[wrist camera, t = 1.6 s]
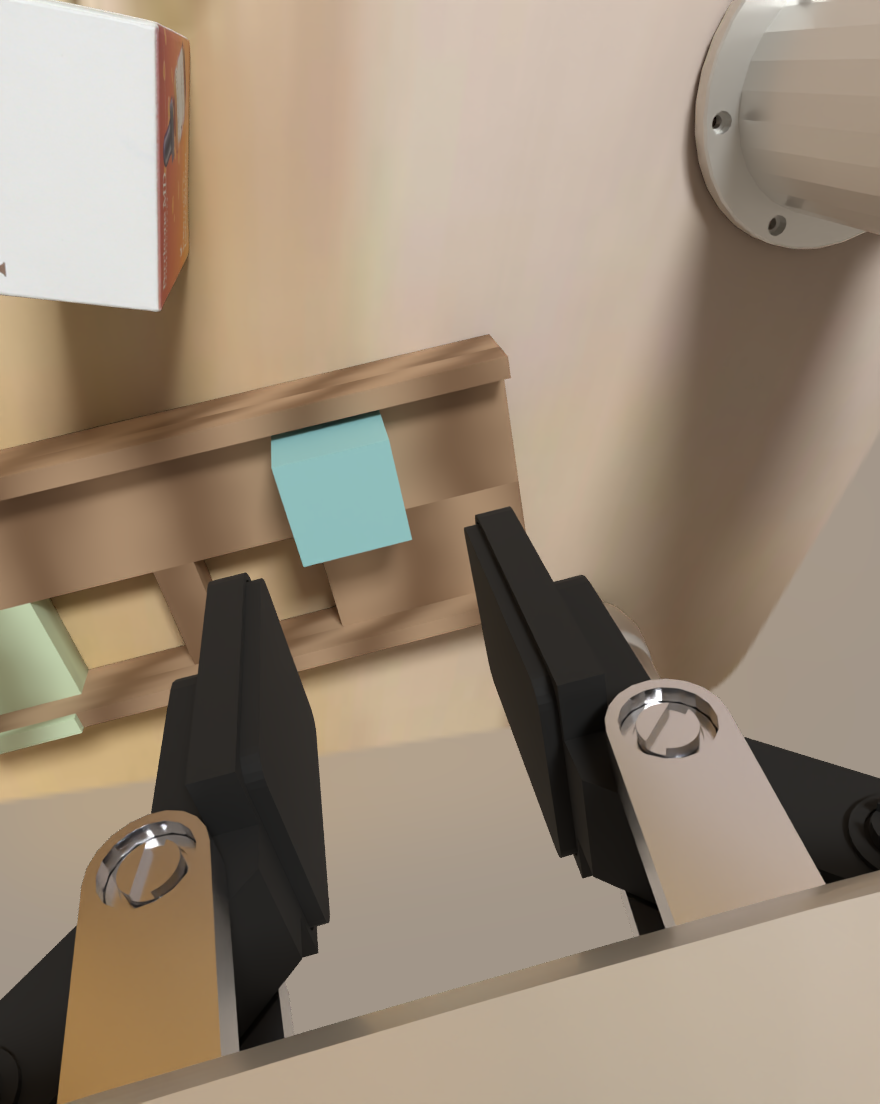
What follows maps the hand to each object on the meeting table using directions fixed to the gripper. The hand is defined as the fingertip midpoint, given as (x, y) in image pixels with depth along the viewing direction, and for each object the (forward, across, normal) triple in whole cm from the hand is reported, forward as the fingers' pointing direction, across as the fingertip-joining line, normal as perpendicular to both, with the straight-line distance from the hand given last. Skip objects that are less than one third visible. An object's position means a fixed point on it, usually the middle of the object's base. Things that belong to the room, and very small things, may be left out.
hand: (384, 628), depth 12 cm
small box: (+28, +6, -6) cm, 29 cm away
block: (+25, +1, +9) cm, 27 cm away
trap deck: (+27, +8, +12) cm, 31 cm away
